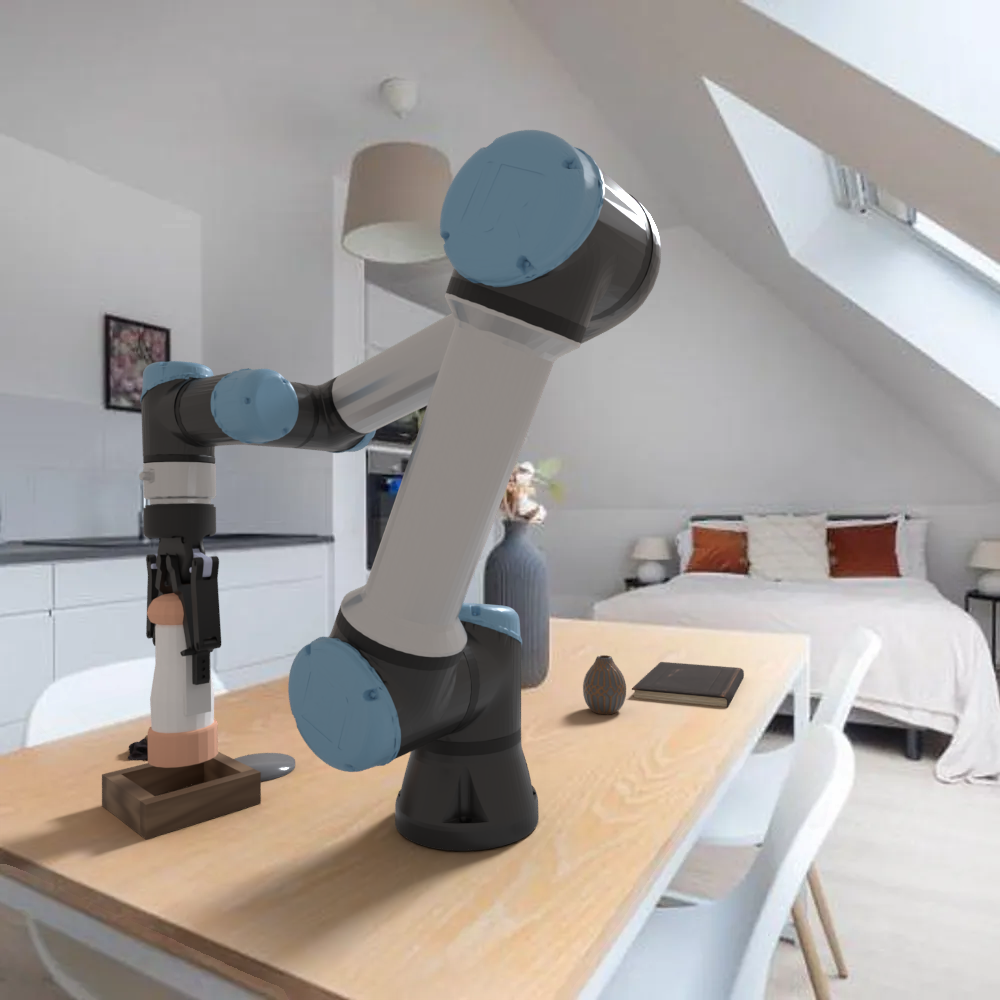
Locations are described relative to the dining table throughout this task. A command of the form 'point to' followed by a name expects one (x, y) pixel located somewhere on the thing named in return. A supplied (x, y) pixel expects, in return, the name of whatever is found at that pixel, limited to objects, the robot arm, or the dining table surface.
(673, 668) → the hardcover book
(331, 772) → the dining table surface
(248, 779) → the walnut frame
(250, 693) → the dining table surface
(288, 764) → the slate coaster
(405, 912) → the dining table surface
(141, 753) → the brown and black lump
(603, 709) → the vase
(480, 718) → the robot arm
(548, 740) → the dining table surface
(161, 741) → the pepper shaker
